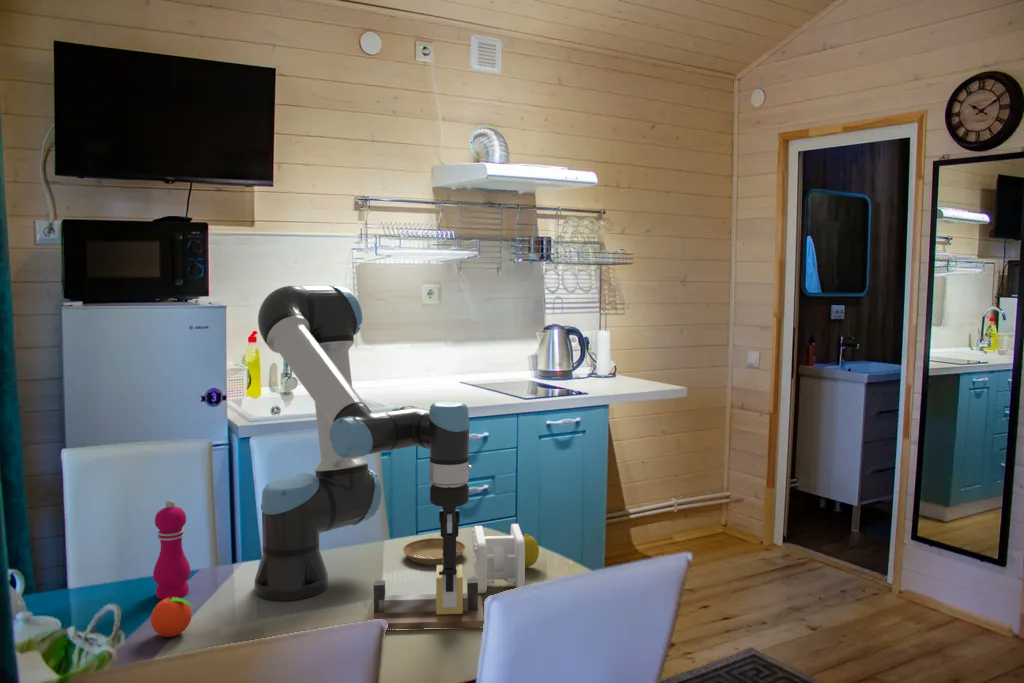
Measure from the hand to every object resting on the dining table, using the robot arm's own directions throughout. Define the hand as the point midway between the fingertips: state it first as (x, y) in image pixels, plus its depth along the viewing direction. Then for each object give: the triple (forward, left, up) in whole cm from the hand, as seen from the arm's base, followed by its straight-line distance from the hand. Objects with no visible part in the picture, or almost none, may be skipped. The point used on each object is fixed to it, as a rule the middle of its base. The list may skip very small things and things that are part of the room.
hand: (449, 598), depth 155 cm
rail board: (-5, 0, -4) cm, 6 cm away
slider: (0, 0, -2) cm, 2 cm away
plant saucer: (-4, +34, -4) cm, 34 cm away
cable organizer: (+10, +16, -4) cm, 19 cm away
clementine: (-51, -5, -4) cm, 51 cm away
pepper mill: (-58, +15, -4) cm, 60 cm away
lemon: (+18, +25, -4) cm, 31 cm away
